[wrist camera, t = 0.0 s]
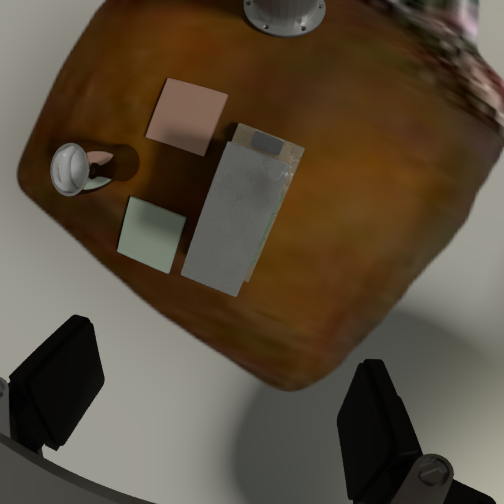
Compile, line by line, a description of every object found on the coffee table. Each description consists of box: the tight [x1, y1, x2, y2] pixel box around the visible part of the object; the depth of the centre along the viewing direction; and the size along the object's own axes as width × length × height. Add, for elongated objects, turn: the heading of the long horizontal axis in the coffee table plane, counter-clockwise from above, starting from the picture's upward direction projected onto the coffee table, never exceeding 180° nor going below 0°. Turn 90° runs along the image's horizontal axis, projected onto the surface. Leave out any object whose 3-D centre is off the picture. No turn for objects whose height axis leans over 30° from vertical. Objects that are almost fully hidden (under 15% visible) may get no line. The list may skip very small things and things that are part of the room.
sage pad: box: [117, 196, 187, 274], centre depth 47 cm, size 10×10×1 cm
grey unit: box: [181, 123, 305, 297], centre depth 39 cm, size 22×10×14 cm, turn 159°
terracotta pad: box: [146, 78, 228, 156], centre depth 41 cm, size 10×10×1 cm
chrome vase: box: [51, 141, 140, 196], centre depth 37 cm, size 7×7×15 cm
